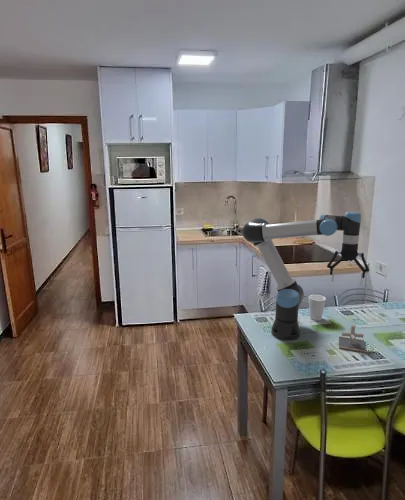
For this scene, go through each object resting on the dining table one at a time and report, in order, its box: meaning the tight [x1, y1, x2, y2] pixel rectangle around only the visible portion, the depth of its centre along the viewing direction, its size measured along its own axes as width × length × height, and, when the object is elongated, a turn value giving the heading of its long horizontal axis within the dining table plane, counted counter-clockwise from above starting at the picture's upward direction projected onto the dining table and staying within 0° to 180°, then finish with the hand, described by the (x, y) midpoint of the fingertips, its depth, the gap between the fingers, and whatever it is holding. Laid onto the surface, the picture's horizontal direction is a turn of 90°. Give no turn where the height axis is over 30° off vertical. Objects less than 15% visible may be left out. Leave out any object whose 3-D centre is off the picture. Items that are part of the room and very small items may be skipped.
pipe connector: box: [341, 324, 364, 345], centre depth 177 cm, size 10×10×10 cm
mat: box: [338, 335, 366, 354], centre depth 178 cm, size 12×12×1 cm
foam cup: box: [308, 294, 327, 321], centre depth 208 cm, size 10×9×13 cm
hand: (346, 282), depth 184 cm, fingers open, 13 cm apart
